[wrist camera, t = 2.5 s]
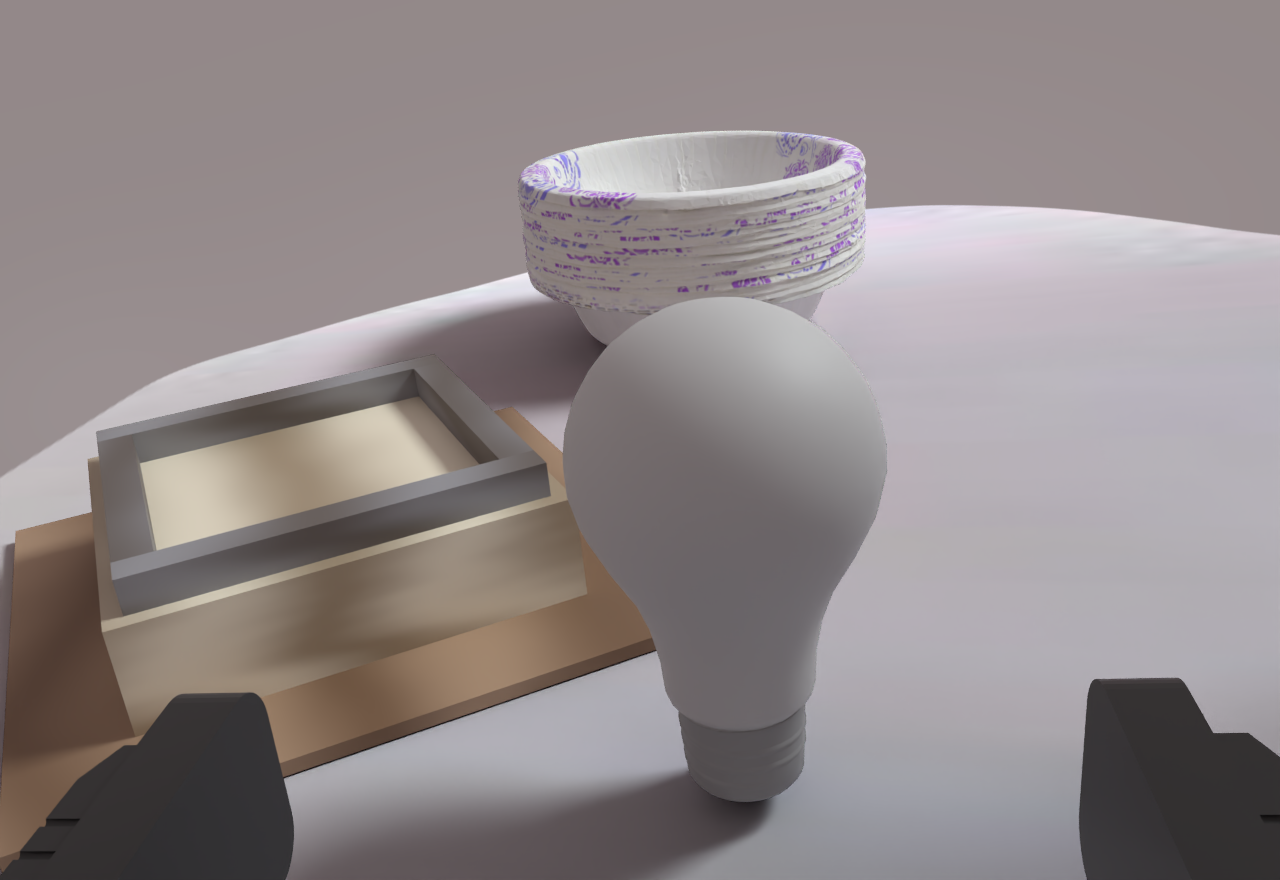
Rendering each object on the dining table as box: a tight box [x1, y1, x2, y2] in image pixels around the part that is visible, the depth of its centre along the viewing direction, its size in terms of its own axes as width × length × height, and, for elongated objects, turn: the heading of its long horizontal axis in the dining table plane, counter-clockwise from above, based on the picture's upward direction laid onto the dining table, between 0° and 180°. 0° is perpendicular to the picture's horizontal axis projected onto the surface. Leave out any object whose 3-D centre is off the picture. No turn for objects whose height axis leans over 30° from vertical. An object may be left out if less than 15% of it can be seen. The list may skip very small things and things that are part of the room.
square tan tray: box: [0, 354, 656, 873], centre depth 36 cm, size 18×18×4 cm
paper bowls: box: [518, 131, 866, 346], centre depth 54 cm, size 15×15×8 cm
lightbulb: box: [562, 297, 887, 802], centre depth 24 cm, size 6×6×11 cm
